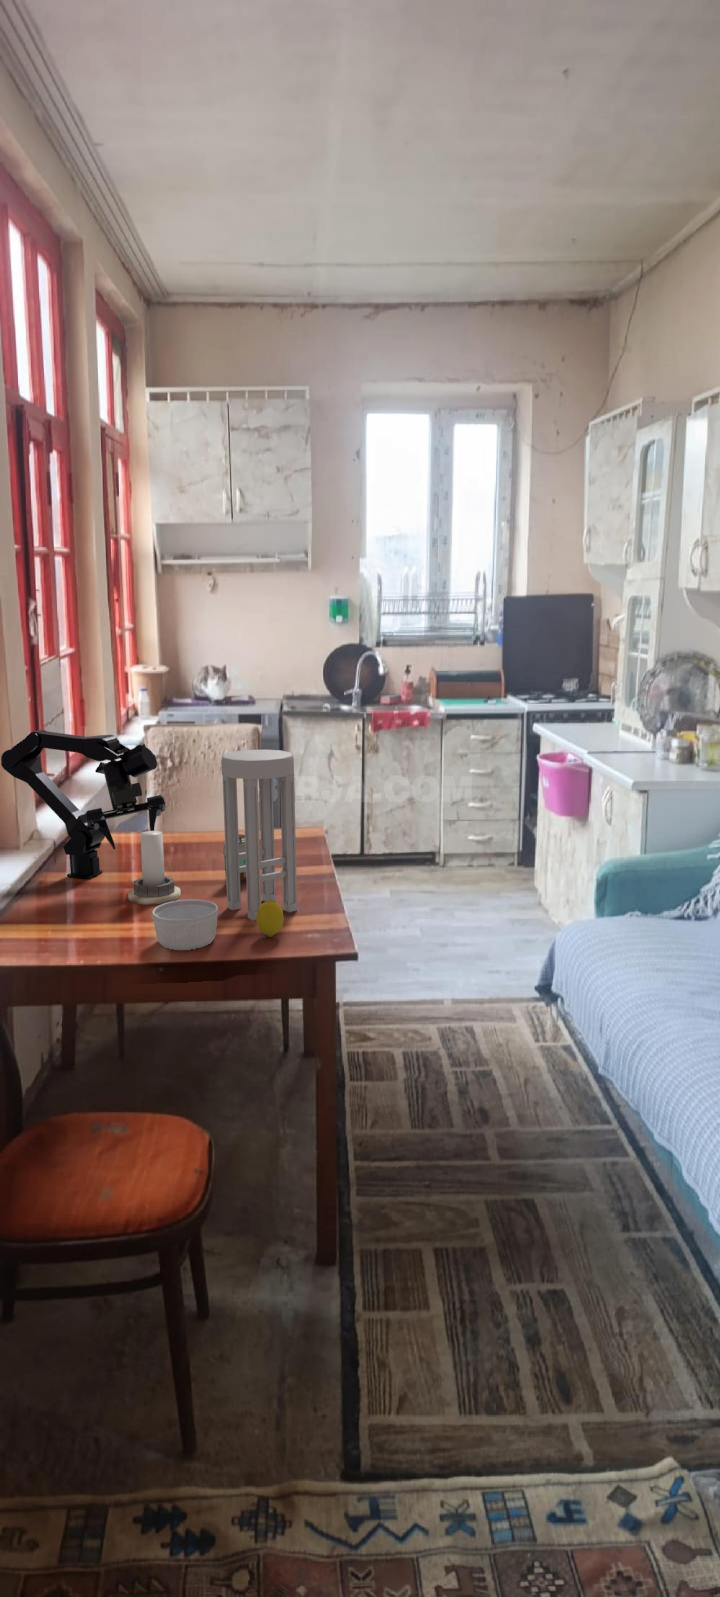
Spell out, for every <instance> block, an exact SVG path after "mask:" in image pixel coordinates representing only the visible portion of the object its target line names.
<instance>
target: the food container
mask: <svg viewBox="0 0 720 1597" xmlns="http://www.w3.org/2000/svg"><path fill="white" fill-rule="evenodd" d="M238 836H239V853H243V852H245V834H240V833H238ZM222 850H223V851H222V854H223V858H224V871H225V874H226V856H225V844H223V847H222ZM239 865H240V866H245V865H246V858H245V859H239ZM244 883H245V884H246V883H247V882H246V872H241V873H240V884H244ZM225 884H226V885H227V882H226V881H225Z"/></svg>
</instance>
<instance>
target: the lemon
mask: <svg viewBox="0 0 720 1597" xmlns="http://www.w3.org/2000/svg"><path fill="white" fill-rule="evenodd" d="M283 912H284V911H283V908H282V907H281V905H280V904H279V903H278V902H276V901H272V900H268V901H266V902H265V901H263V903H261V905H260V907H259V908H258V911H257V917H256V920H255V921H256V925H257V927H258V930H259V931H260V932H261V933H263V935H266V936H267V937H269V938H272V937H273V936H274V935H276V934H278V933H280V932H281V930H282V928H283V926H284V919H285V918H284V913H283Z"/></svg>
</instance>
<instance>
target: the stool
mask: <svg viewBox="0 0 720 1597" xmlns="http://www.w3.org/2000/svg"><path fill="white" fill-rule="evenodd" d="M220 764H221V776H222V797H223V800H222V801H223V802H222V803H223V822H224V823H223V825H224V826H223V827H224V845H225V856H226V873H225V883H226V882H227V884H226V904H227V909H229V910H231V911H235V910H236V911H237V910H240V909H242V900H241V898H242V897H241V896H242V895H241V883H240V873H241V872H246V882H245V883H246V905H247V908H246V909H247V919H249V920H251V921H256V917H257V911H258V908H259V907H260V905H261V904H262V901H263V902H266V901H268V900H272V901H274V902H276V901H277V897H276V896H277V895H276V893H277V892H276V889H277V888H276V879H280V878H281V879H282V902H283V903H282V905H283V907H282V911H285V912H286V913H293V911H294V912H297V911H298V887H297V885H298V883H297V881H298V880H297V844H296V843H297V841H296V840H297V837H296V836H297V835H296V805H295V804H296V803H295V802H296V799H295V797H296V796H295V794H296V793H295V759H294V755H293V752H290V751H285V750H278V749H247V750H245V749H244V750H236V751H230V752H227V753H223V755H222V754H221V763H220ZM275 778H276V779H277V778H279V784H280V786H279V787H280V793H279V794H280V796H279V797H280V825H281V826H280V829H281V830H280V831H281V856H280V857H276V856H275V854H276V853H275V851H276V850H275V827H274V826H275V825H274V824H275V822H274V821H275V817H274V789H273V788H274V785H273V782H274V781H273V780H274V779H275ZM237 779H239V780H240V779H242V781H243V782H242V784H243V788H242V789H243V790H242V792H243V812H244V813H243V817H244V818H243V819H244V835H245V852H243V853H239V836H238V834H239V818H238V817H239V814H238V813H239V812H238V811H239V810H238V786H237ZM245 858H246V865H245V866H240V865H239V859H245ZM281 864H282V865H281ZM276 865H277V866H278V865H281V866H282V867H281V868H282V870H279V871H276Z"/></svg>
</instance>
